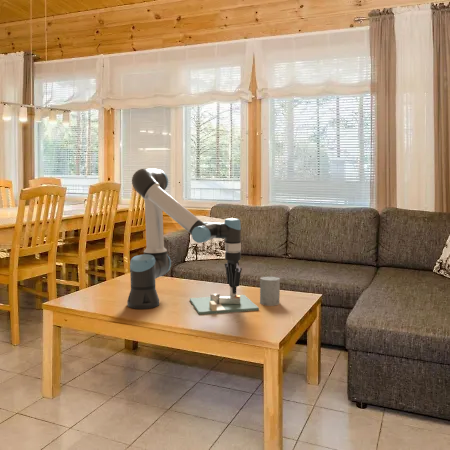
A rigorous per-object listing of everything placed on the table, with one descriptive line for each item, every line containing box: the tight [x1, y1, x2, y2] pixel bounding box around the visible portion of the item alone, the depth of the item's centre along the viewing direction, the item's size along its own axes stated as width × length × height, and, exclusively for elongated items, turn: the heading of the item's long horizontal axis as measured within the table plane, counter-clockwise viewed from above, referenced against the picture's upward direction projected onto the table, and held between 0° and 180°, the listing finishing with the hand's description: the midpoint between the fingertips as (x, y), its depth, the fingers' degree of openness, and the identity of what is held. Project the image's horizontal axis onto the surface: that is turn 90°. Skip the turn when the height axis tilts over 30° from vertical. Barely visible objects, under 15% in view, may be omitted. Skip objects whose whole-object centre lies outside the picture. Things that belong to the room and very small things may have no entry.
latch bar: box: [209, 292, 241, 304], centre depth 232 cm, size 14×4×4 cm, turn 86°
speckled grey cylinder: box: [259, 275, 281, 307], centre depth 237 cm, size 10×10×12 cm
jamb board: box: [189, 294, 260, 315], centre depth 234 cm, size 28×24×4 cm
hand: (233, 299), depth 235 cm, fingers closed
